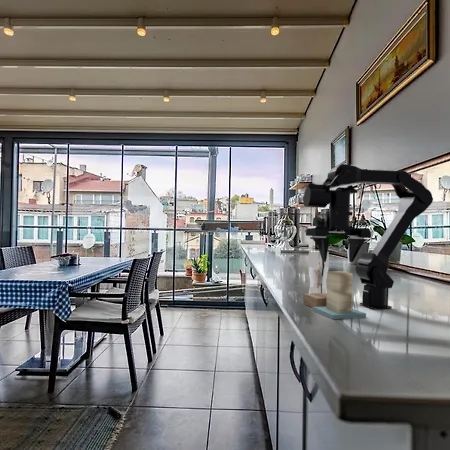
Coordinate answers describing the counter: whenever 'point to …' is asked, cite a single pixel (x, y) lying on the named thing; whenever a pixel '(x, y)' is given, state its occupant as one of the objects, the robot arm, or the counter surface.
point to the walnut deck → (315, 299)
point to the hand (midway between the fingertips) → (337, 261)
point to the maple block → (339, 291)
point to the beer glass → (317, 272)
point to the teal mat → (337, 315)
